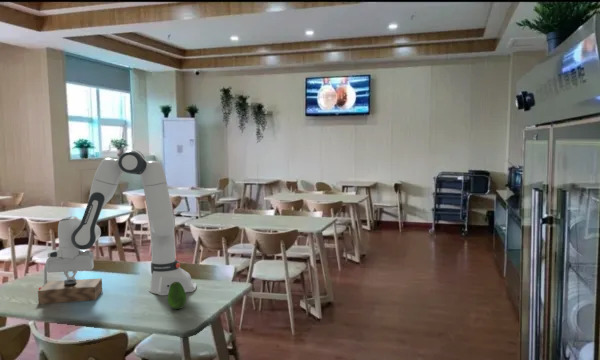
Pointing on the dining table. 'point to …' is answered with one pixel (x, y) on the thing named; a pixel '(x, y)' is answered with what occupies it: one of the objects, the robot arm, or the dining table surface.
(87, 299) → the hitch block
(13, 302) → the dining table surface
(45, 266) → the tow hook
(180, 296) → the avocado
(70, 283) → the steel pin
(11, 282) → the dining table surface
